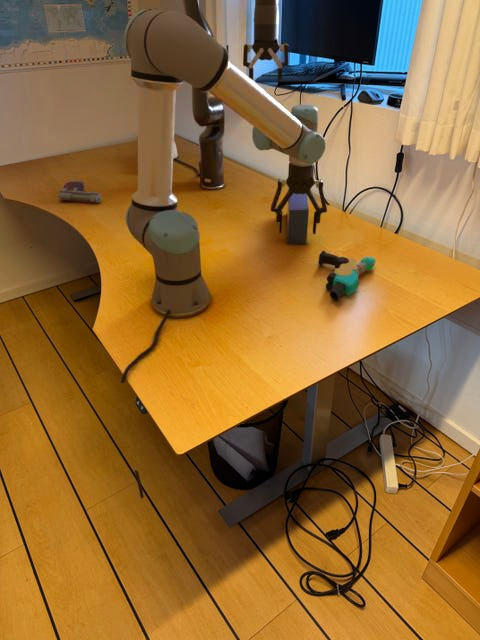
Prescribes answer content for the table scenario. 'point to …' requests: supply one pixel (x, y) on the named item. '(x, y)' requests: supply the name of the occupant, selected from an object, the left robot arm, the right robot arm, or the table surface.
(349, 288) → the toy gun
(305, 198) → the box
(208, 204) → the table surface
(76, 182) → the toy gun
